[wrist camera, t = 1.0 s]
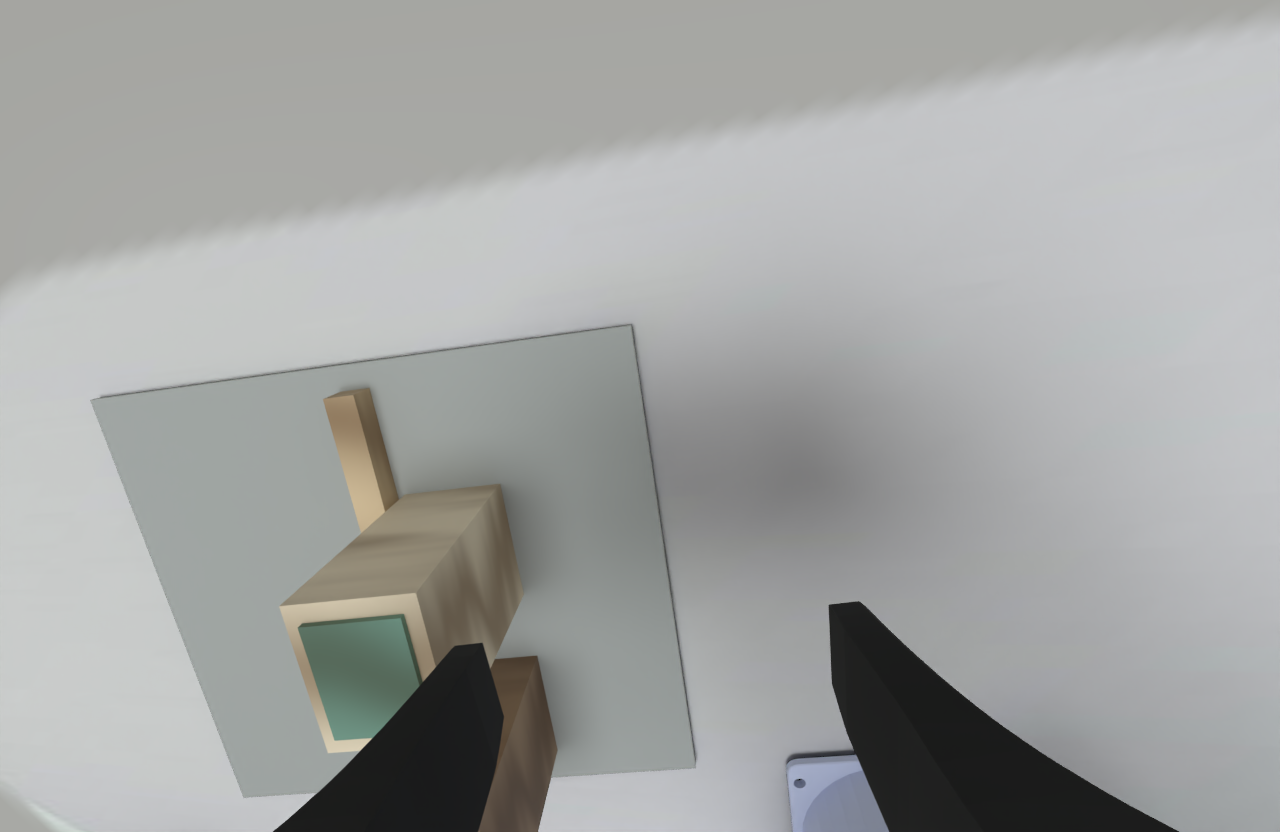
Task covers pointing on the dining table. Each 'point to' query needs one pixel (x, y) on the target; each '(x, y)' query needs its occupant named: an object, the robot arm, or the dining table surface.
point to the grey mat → (420, 462)
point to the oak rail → (362, 454)
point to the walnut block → (520, 749)
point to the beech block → (402, 607)
